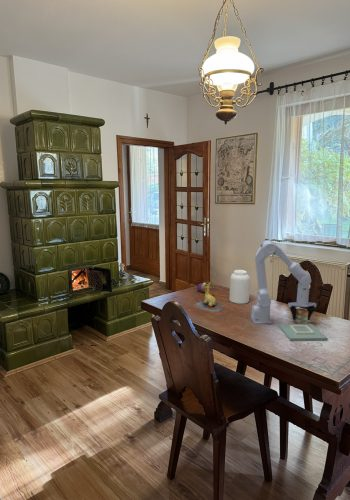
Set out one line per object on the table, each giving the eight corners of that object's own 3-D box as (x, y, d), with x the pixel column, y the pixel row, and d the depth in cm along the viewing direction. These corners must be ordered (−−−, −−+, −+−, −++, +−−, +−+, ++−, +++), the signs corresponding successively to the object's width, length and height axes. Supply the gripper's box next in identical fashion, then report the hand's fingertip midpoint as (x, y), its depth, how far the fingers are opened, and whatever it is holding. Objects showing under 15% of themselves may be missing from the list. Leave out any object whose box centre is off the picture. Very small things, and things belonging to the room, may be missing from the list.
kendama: (208, 293, 224) (195, 283, 242) (209, 301, 226) (196, 291, 244) (216, 290, 226) (202, 281, 244) (217, 299, 228) (203, 288, 246)
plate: (290, 340, 163) (290, 336, 163) (277, 326, 181) (277, 322, 180) (327, 340, 164) (327, 336, 163) (311, 325, 181) (311, 321, 181)
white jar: (242, 305, 213) (244, 274, 209) (225, 301, 221) (226, 270, 217) (252, 300, 222) (254, 270, 219) (235, 296, 230) (236, 267, 227)
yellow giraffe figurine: (203, 300, 223) (204, 276, 219) (228, 306, 213) (229, 282, 209) (190, 307, 210) (190, 283, 206) (216, 315, 200) (217, 289, 196)
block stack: (298, 324, 183) (299, 311, 181) (294, 321, 187) (295, 308, 186) (307, 324, 183) (308, 311, 181) (303, 321, 188) (304, 308, 186)
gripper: (292, 297, 178) (290, 322, 181) (319, 297, 179) (317, 322, 181) (287, 293, 185) (285, 317, 187) (313, 293, 186) (311, 317, 188)
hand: (301, 319), depth 185 cm, fingers open, 7 cm apart
